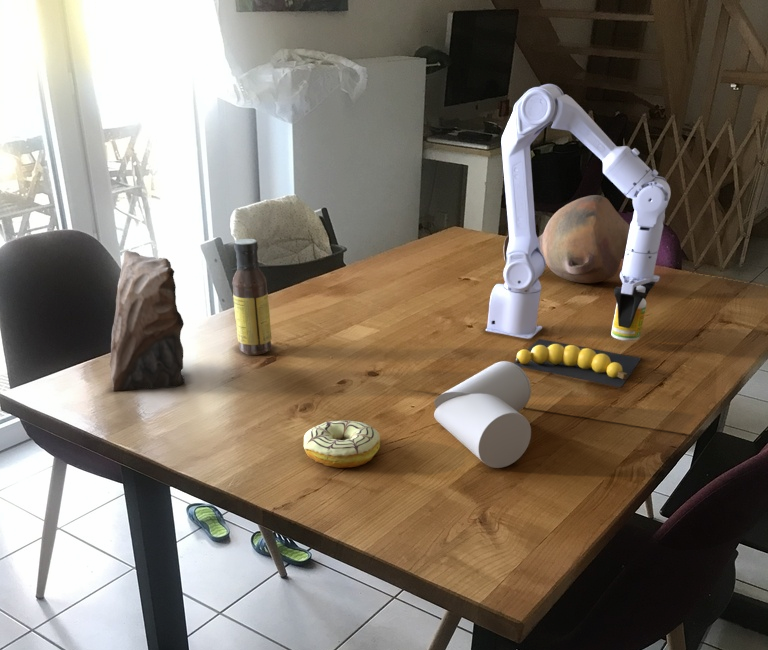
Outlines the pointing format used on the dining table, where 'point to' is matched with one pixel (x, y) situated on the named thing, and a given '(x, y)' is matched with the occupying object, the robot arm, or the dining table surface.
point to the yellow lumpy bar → (571, 358)
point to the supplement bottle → (636, 325)
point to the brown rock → (146, 326)
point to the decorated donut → (342, 443)
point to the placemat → (584, 374)
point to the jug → (584, 240)
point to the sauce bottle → (251, 300)
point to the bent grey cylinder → (489, 413)
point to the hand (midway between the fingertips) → (627, 322)
